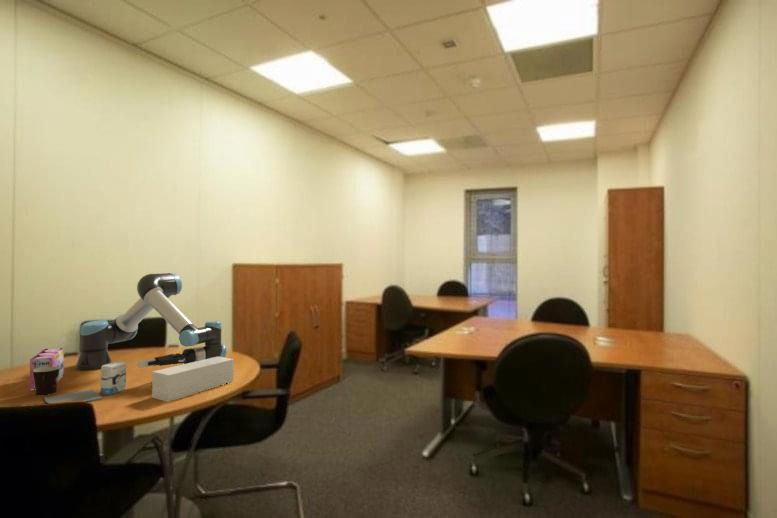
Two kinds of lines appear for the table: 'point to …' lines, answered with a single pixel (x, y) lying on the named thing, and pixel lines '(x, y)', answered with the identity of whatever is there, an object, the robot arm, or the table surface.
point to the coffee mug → (46, 380)
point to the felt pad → (75, 397)
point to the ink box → (113, 378)
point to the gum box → (47, 362)
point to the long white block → (191, 378)
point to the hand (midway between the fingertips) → (138, 364)
